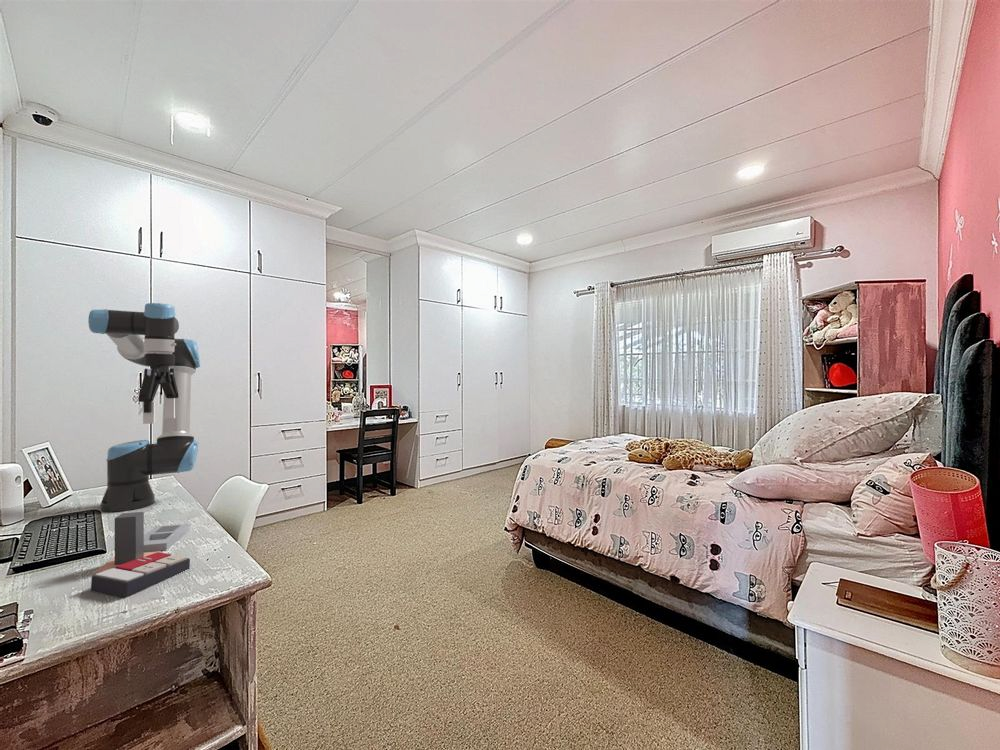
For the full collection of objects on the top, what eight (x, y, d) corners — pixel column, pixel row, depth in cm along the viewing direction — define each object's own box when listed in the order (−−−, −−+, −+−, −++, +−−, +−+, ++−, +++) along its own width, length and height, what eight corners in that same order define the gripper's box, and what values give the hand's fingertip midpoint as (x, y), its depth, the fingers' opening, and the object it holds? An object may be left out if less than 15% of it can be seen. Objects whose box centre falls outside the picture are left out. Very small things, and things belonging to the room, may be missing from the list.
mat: (117, 557, 116) (117, 555, 116) (161, 553, 119) (161, 551, 119) (93, 574, 106) (93, 571, 106) (142, 569, 109) (142, 567, 109)
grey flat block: (156, 532, 134) (156, 525, 134) (190, 529, 136) (190, 523, 136) (127, 553, 118) (127, 546, 118) (166, 550, 121) (166, 542, 121)
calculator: (191, 555, 110) (125, 579, 96) (190, 572, 110) (124, 599, 95) (158, 550, 113) (90, 572, 99) (157, 567, 113) (89, 592, 98)
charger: (123, 558, 114) (123, 513, 114) (143, 556, 115) (143, 511, 115) (114, 565, 110) (114, 518, 110) (135, 563, 111) (135, 516, 111)
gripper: (154, 352, 125) (154, 425, 126) (189, 354, 149) (189, 415, 150) (123, 351, 123) (123, 426, 124) (164, 353, 147) (164, 416, 148)
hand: (159, 420), depth 137 cm, fingers open, 13 cm apart
